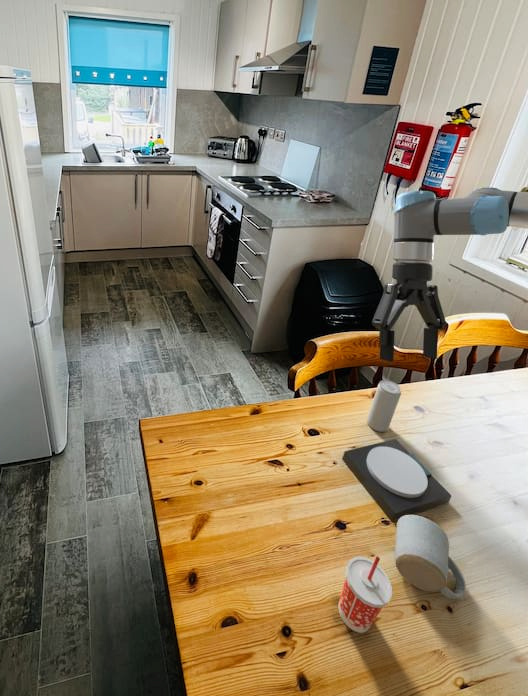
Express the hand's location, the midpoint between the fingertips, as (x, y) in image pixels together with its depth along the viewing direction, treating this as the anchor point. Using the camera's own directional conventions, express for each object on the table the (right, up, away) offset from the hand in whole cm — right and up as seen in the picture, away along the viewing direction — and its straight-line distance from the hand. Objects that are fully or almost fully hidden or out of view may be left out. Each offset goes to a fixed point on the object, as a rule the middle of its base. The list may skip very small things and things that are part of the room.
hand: (408, 359), depth 86 cm
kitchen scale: (-6, -24, -4) cm, 25 cm away
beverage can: (-2, -19, +9) cm, 21 cm away
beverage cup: (-24, -33, -26) cm, 48 cm away
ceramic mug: (-9, -31, -20) cm, 38 cm away
